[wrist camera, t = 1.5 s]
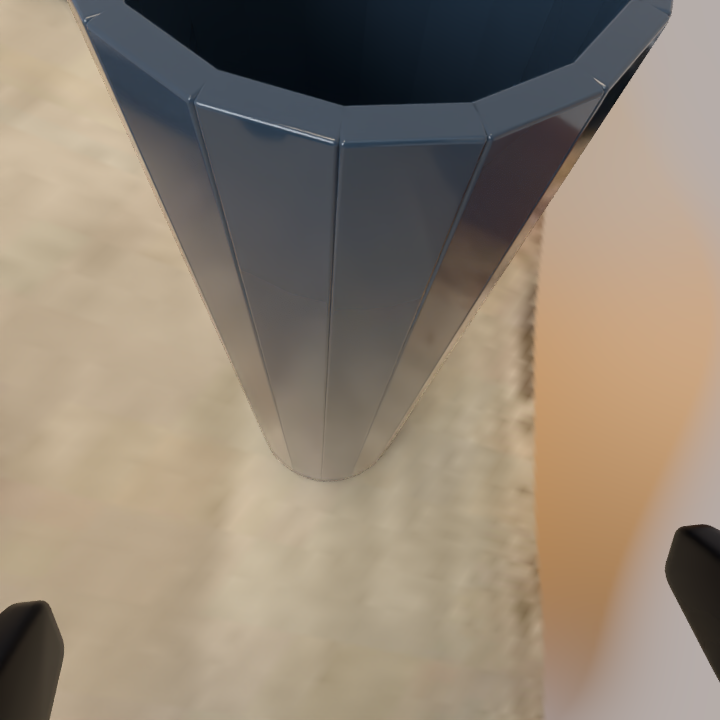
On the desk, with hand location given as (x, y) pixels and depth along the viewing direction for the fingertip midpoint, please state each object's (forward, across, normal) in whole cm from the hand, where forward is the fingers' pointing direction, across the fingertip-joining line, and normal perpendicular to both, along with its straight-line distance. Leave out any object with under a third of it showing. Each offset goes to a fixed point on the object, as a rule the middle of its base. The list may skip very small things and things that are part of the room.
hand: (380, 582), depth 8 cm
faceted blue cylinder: (+13, 0, +5) cm, 14 cm away
